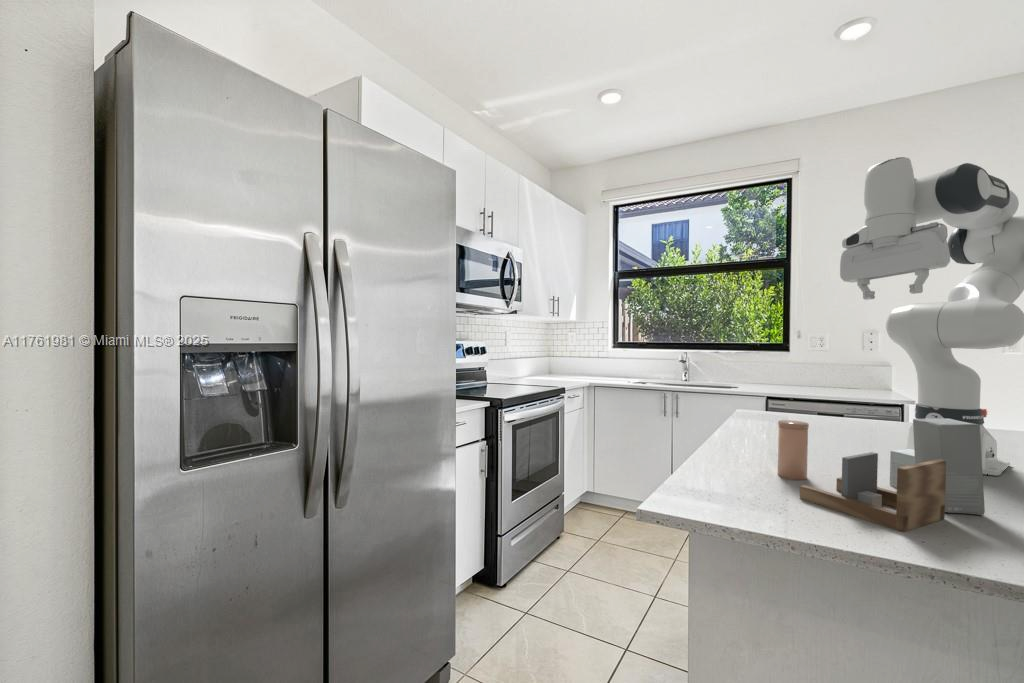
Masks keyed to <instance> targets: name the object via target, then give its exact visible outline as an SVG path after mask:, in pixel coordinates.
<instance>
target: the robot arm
mask: <svg viewBox="0 0 1024 683" xmlns="http://www.w3.org/2000/svg"><path fill="white" fill-rule="evenodd" d="M912 165H913V164H912V161H911V159H910V158H909V157H905V156H904V157H903V156H902V157H901V156H900V157H894V158H891V159H887V160H884V161H880V162H878V163H876V164H874V165H872V166H871V167H869V168H868V170H867V171H866V172H867V173H866V176H865V181H864V190H863V191H864V192H863V193H864V194H863V196H864V197H863V198H864V199H863V203H864V207H865V210H866V216H865V220H864V226H863V227H862V228H860V229H859V230H857V231H856V232H854V233H852V234H850V235H849V236H847V237H845V238H843V239H842V241H841V245H842V246H841V247H842V248H844V250H843V251H842V252H841V256H840V262H839V263H840V264H839V275H840V276H839V277H840V279H841V280H842V281H843V282H845V283H856V285H857V286H858V289H860V291H861V292H862V298H863V300H865V301H866V300H867V301H868V300H875V298H876V296H875V295H876V291H875V290H871V289H870V288H869V285H871V280H876V279H877V280H878V279H883V278H889V277H894V276H901V275H902V276H903V275H907V274H913V273H914V276H916V279H915V281H914V282H913V283H911V284H909V286H908V287H909V288H908V289H909V293H910V294H922V293H923V292H924V289H923V287H924V286H923V285H924V284H925V283H926V281H927V279H928V277H929V276H930V270H936V269H937V270H938V269H942V268H946V267H947V266H948V265H949V264H950V262H951V259H952V260H953V261H954V262H955V263H956V264H959V265H960V264H961V265H975V264H981V265H980V267H978V268H976V269H975V270H973V271H971V273H969V274H968V275H967V276H966V277H965V278H963V279H962V280H961V281H960V282H959V283H957V284H956V285H955V286H954V287H953V288H952V289H951V290H950V292H949V294H948V297H947V301H942V302H940V301H939V302H918V303H914V304H913V303H912V304H907V305H903V306H899V307H896V308H894V309H893V310H891V312H890V313H889V315H888V316H887V319H886V322H885V328H886V329H885V330H886V333H887V335H888V337H889V338H890V340H891V341H893V342H894V343H895V344H897V345H898V346H900V347H901V349H902V350H904V351H905V352H906V354H908V356H909V358H910V359H911V362H913V365H914V367H915V370H916V371H915V373H916V378H917V403H916V404H915V408H914V419H953V420H958V421H962V422H967V423H973V424H978V425H980V438H981V455H982V473H983V475H987V474H988V476H1001V474H1003V473H1004V472H1005V471H1006V470H1007V469H1008V468H1009V467H1010V466H1011V462H1010V461H1009V460H1006V459H1002V458H998V444H997V443H998V442H997V440H996V439H995V438H994V437H993V435H992V434H991V433H990V432H989V431H988V430H987V428H986V427H985V426H984V424H985V418H987V416H988V410H987V408H981V383H982V382H981V381H982V380H981V378H980V376H979V374H978V373H977V372H976V371H975V370H974V369H973V368H971V367H969V366H967V365H965V364H963V363H961V362H959V361H958V360H957V359H956V358H955V356H954V355H953V351H952V349H967V350H968V349H969V350H989V349H998V348H1005V347H1013V346H1014V345H1016V344H1017V343H1019V341H1021V339H1022V338H1023V337H1024V311H1023V310H1022V309H1021V308H1020V307H1019V306H1018V305H1017V304H1015V303H1014V302H1016V301H1017V300H1018V298H1020V296H1021V295H1022V293H1023V292H1024V215H1017V216H1014V215H1016V213H1017V211H1018V209H1019V204H1020V203H1019V198H1018V195H1016V194H1015V192H1013V191H1012V190H1010V187H1009V186H1008V184H1007V183H1006V182H1005V181H1004V180H1003V179H1000V178H999V177H996V176H994V175H990V173H988V172H987V171H986V169H984V168H983V167H981V166H979V165H977V164H974V163H968V162H966V163H962V164H959V165H957V166H954V167H951V168H948V169H947V170H944V171H941V172H938V173H934V174H931V175H928V176H924V177H921V178H919V179H918V178H916V177H915V175H914V169H913V168H914V167H913V166H912ZM940 219H941V220H942V221H943V222H944V223H945V224H947V225H949V226H950V227H953V228H955V229H954V230H953V231H952V232H951V234H950V236H949V235H948V234H949V233H948V226H946V225H945V224H944V223H941V222H940V223H939V222H938V221H937V220H940ZM932 221H935V222H932ZM927 222H930V223H927ZM923 223H927V224H923ZM920 224H921V225H920ZM922 224H923V225H922ZM917 225H918V226H917ZM948 236H949V237H948ZM947 239H948V240H947ZM906 439H907V440H906V441H907V442H906V446H905V447H906V449H913V450H914V432H913V423H911V424H910V425H909V426H908V432H907V438H906ZM1009 465H1010V466H1009ZM1008 466H1009V467H1008ZM1007 467H1008V468H1007ZM1006 468H1007V469H1006ZM1005 469H1006V470H1005ZM1004 470H1005V471H1004ZM1003 471H1004V472H1003ZM1002 472H1003V473H1002Z"/></svg>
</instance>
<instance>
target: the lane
mask: <svg viewBox="0 0 1024 683" xmlns="http://www.w3.org/2000/svg"><path fill="white" fill-rule="evenodd" d="M945 481H946V460H941V459H937V460H932V461H927V462H923V463H918V464H913V465H908V466H904V467H899V468H897V487H896V491H893V490H891V489H885V488H882V487H878V486H877V494H880V495H882V505H887V506H889V507H894V508H896V511H894V510H891V509H887V508H884V507H882V508H881V507H878V506H874V505H871V504H868V503H864V502H861V501H857V500H854V499H851V498H847V497H844V496H841V495H840V494H836V493H834V492H830V491H827V490H823V489H819V488H817V487H813V486H809V485H806V484H803V485H800V486H799V499H801V500H803V501H806V500H807V502H809V501H810V503H812V502H813V504H815V503H816V504H815V505H819V506H822V507H826V508H827V509H831V510H833V511H834V510H835V511H838V512H840V513H843V514H847V515H850V516H853V517H856V518H860V519H862V520H865V521H868V522H871V523H875V524H877V525H881V526H883V527H887V528H890V529H893V530H897V531H899V532H902V533H904V532H907V531H910V530H912V529H917V528H920V527H922V526H923V527H924V526H926V525H929V524H932V523H936V522H939V521H942V520H944V519H945V514H946V512H945ZM836 491H837V492H841V493H842V477H836Z"/></svg>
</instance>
